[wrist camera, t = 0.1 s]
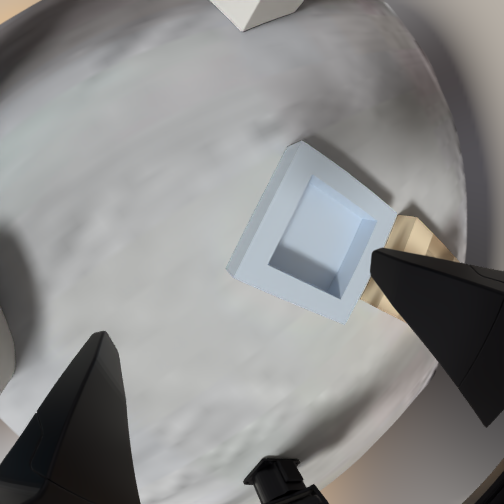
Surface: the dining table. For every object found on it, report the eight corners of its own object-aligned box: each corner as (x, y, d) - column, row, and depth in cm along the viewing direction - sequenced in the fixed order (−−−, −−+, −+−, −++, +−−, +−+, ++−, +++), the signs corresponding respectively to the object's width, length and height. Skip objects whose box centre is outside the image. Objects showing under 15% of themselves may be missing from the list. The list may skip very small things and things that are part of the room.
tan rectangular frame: (419, 329, 33) (434, 337, 31) (360, 299, 29) (377, 308, 26) (448, 263, 33) (464, 267, 30) (397, 214, 28) (416, 217, 26)
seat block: (329, 313, 28) (344, 324, 25) (225, 268, 24) (233, 278, 21) (377, 210, 27) (397, 212, 25) (287, 146, 24) (302, 140, 21)
